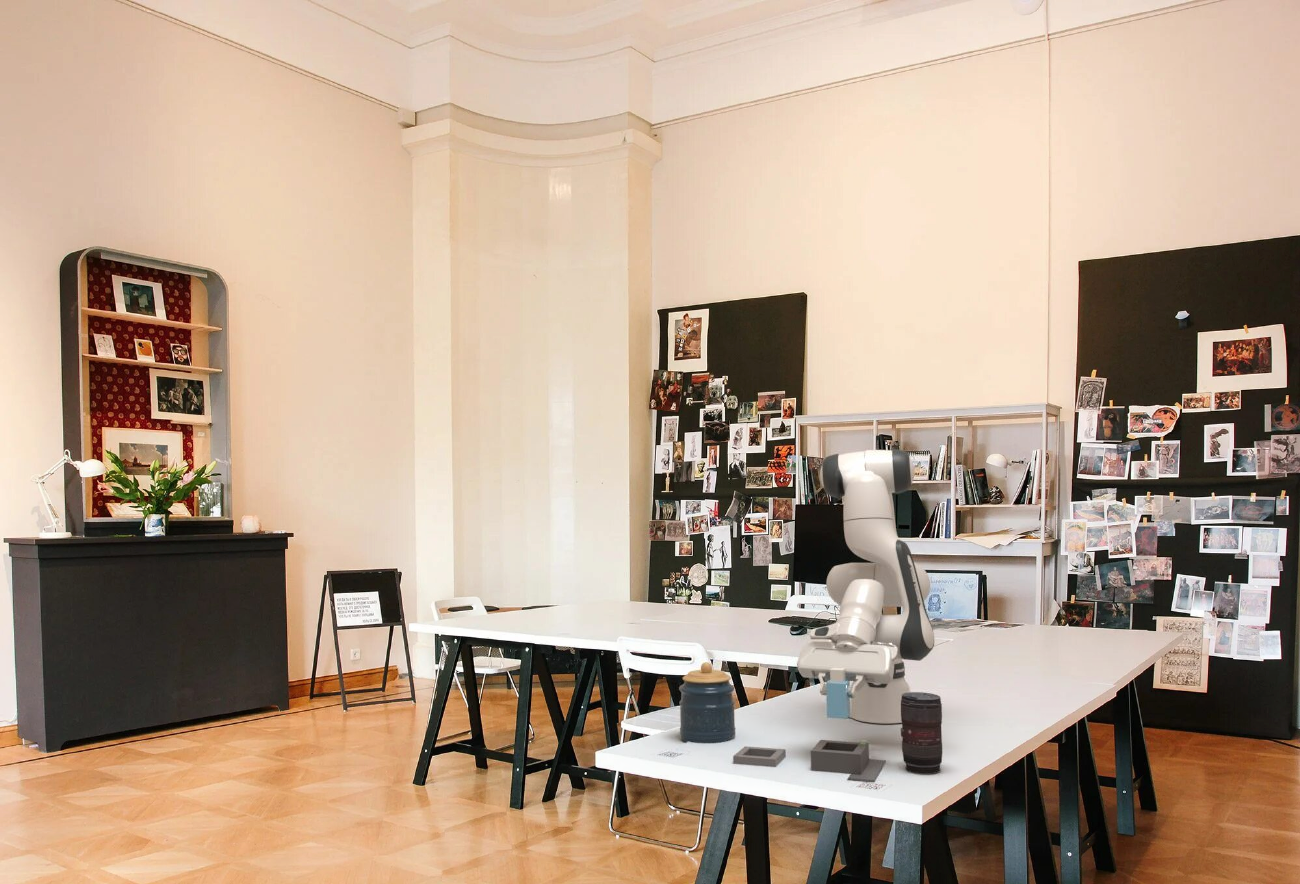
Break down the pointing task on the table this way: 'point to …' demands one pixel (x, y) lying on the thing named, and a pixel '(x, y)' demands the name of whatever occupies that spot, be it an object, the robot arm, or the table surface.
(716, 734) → the canister
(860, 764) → the port
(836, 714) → the plug
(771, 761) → the grey square tray
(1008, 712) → the table surface
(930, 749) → the camera lens
